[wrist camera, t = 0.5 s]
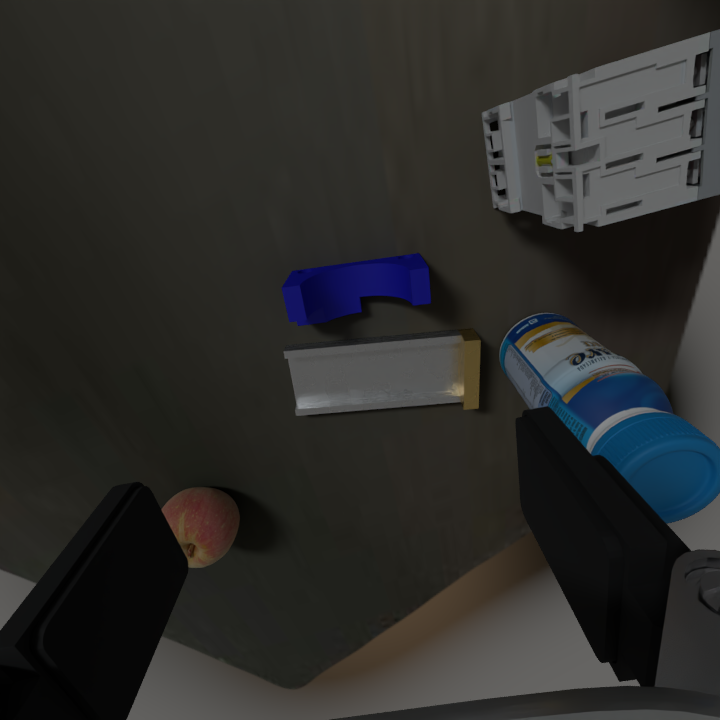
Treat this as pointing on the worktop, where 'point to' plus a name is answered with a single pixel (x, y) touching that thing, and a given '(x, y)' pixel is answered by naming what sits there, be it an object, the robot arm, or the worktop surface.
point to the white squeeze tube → (386, 372)
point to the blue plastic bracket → (353, 287)
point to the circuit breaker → (612, 139)
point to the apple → (203, 523)
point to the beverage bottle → (613, 413)
